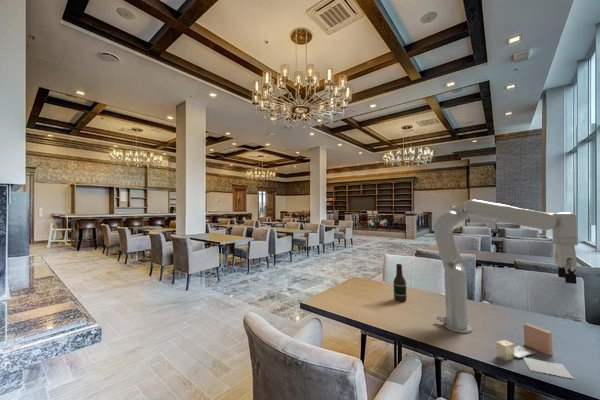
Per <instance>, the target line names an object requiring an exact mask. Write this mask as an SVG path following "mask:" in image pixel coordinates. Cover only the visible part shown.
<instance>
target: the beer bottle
mask: <svg viewBox="0 0 600 400" xmlns="http://www.w3.org/2000/svg"><path fill="white" fill-rule="evenodd" d="M403 275H404V274H403V265H402V263H401V264H400V263H397V264H396V275H395V277H394V279H393V298H394V299H395V300H397V301H400V302H402V303H406V302H407V301H406V300H408V299H407V297H408V296H407V281H406V279H405V277H404V276H403ZM395 300H394V301H395ZM405 301H406V302H405ZM400 302H399V303H400Z"/></svg>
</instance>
